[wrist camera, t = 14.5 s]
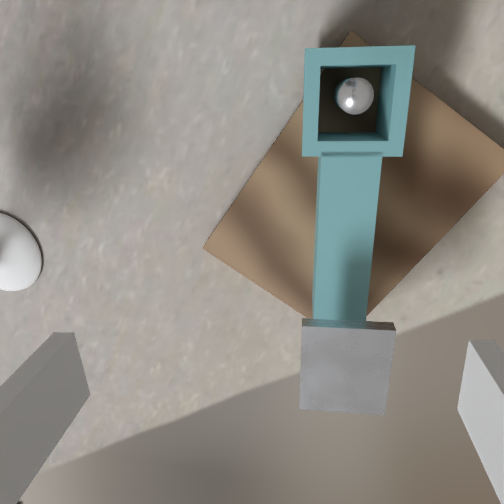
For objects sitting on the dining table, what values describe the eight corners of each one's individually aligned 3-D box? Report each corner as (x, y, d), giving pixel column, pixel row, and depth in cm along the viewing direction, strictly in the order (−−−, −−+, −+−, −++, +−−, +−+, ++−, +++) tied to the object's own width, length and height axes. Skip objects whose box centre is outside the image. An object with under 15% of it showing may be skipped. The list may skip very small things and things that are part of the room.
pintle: (343, 72, 32) (353, 70, 26) (365, 89, 32) (381, 91, 26) (326, 97, 33) (331, 101, 26) (347, 114, 33) (358, 121, 27)
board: (348, 32, 31) (351, 30, 30) (508, 156, 33) (517, 159, 32) (205, 242, 39) (202, 248, 38) (341, 332, 41) (342, 341, 39)
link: (304, 54, 31) (304, 48, 26) (396, 51, 30) (415, 45, 25) (298, 296, 38) (297, 329, 33) (371, 299, 37) (381, 333, 32)
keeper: (302, 256, 38) (302, 326, 27) (369, 258, 38) (396, 330, 27) (300, 321, 41) (299, 409, 30) (362, 324, 40) (384, 415, 29)
